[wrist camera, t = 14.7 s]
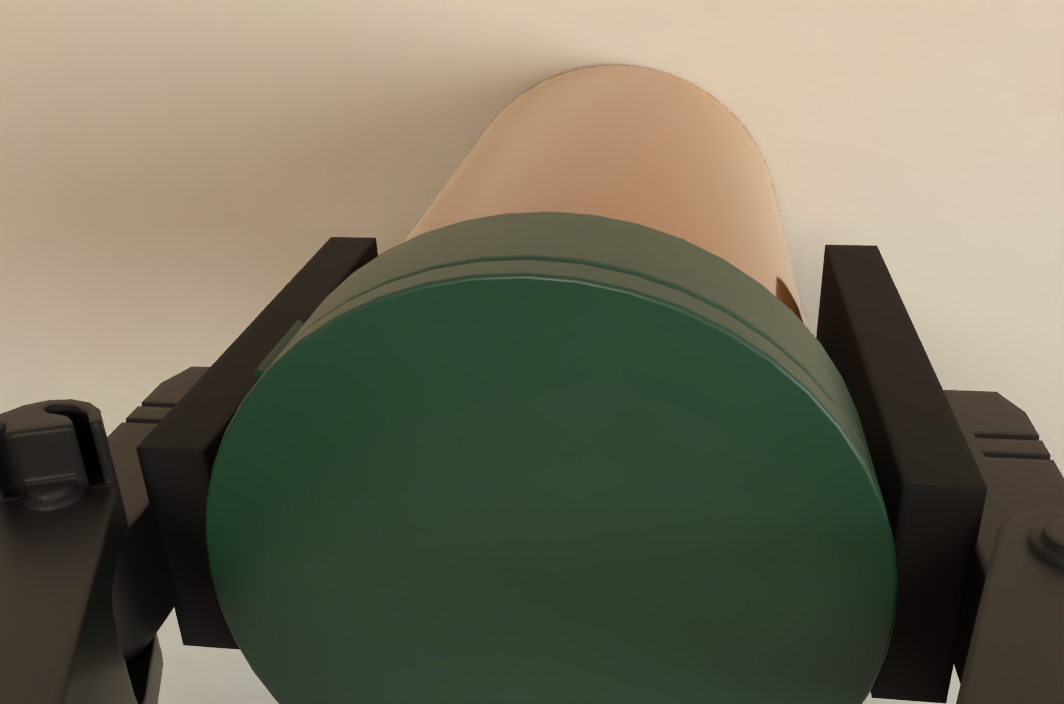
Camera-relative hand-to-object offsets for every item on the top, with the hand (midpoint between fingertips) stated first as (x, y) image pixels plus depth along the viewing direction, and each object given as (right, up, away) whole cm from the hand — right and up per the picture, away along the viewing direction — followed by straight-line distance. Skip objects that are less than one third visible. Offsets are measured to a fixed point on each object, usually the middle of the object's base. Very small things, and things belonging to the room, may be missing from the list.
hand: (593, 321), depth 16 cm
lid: (-1, -3, -6) cm, 6 cm away
